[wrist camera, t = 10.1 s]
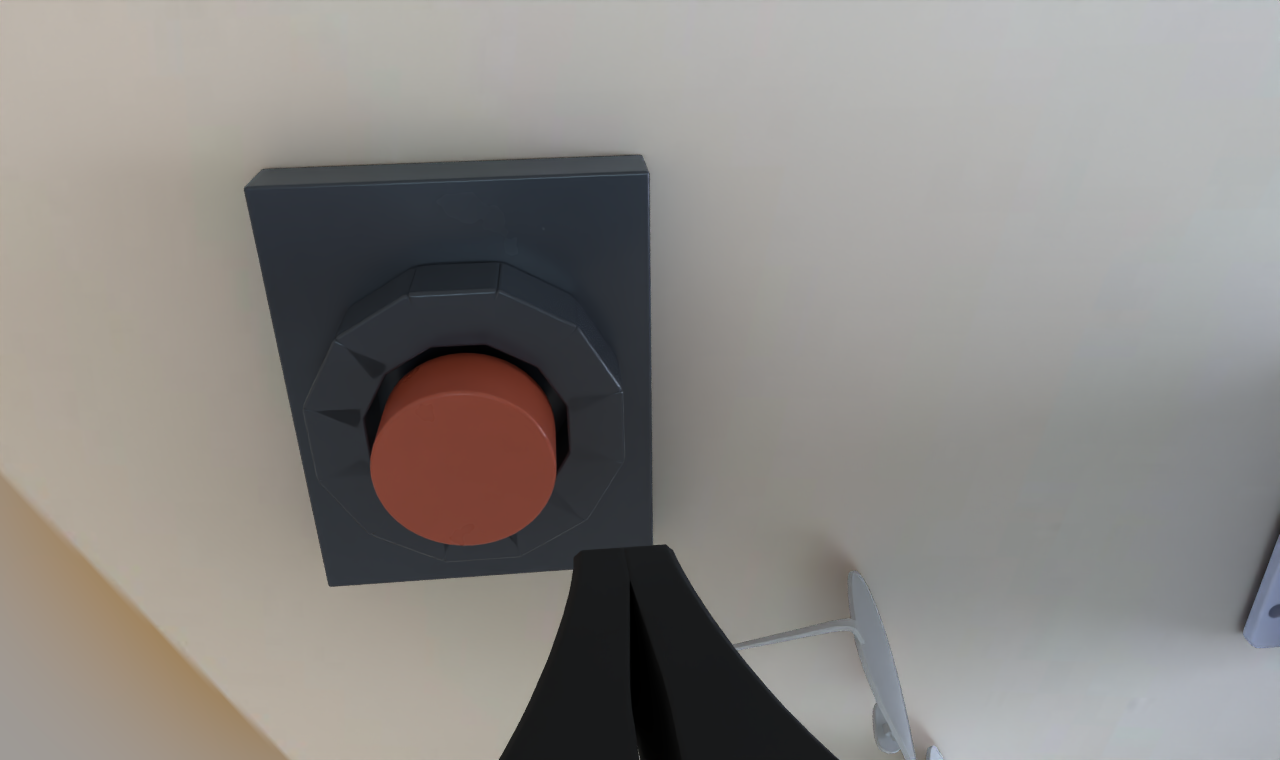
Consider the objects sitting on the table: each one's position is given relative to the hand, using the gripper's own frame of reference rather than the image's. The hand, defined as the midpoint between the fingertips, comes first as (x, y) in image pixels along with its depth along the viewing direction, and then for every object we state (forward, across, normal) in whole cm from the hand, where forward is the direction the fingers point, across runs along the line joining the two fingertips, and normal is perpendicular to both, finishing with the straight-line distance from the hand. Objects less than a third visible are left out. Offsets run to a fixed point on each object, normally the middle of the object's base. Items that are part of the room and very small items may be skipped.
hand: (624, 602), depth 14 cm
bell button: (+7, +3, +1) cm, 7 cm away
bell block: (+10, +3, +1) cm, 10 cm away
